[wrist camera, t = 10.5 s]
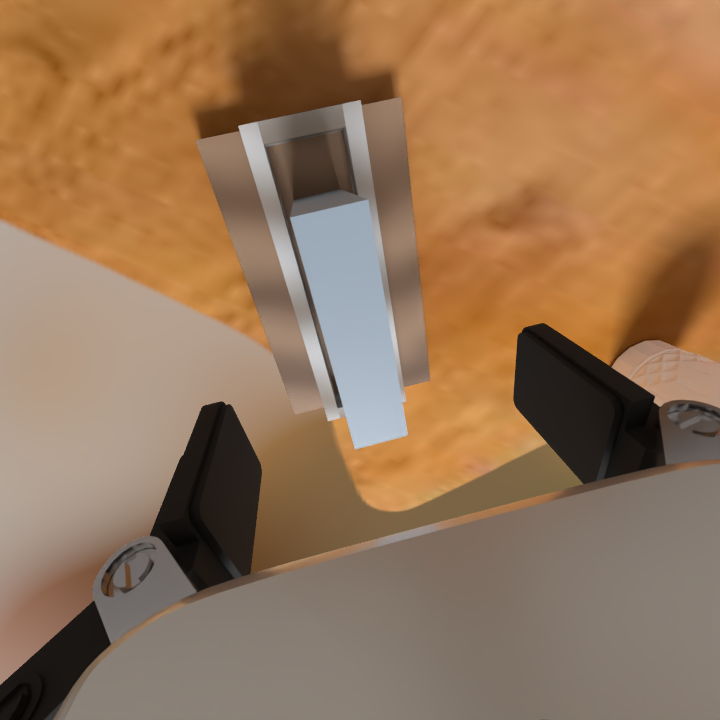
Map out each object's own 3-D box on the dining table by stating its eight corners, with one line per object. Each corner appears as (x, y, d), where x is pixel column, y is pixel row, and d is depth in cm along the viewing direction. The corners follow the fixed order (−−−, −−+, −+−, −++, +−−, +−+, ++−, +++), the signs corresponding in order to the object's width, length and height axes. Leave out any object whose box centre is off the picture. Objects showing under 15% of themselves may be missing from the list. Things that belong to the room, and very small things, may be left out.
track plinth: (201, 142, 20) (184, 137, 17) (395, 101, 21) (411, 89, 18) (295, 403, 30) (294, 429, 27) (424, 371, 31) (438, 393, 28)
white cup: (606, 344, 33) (718, 405, 24) (683, 325, 33) (819, 378, 24) (594, 408, 37) (686, 480, 28) (662, 390, 37) (774, 456, 28)
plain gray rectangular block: (293, 200, 21) (289, 217, 13) (340, 189, 21) (368, 199, 13) (337, 361, 27) (354, 449, 19) (373, 352, 27) (407, 435, 19)
